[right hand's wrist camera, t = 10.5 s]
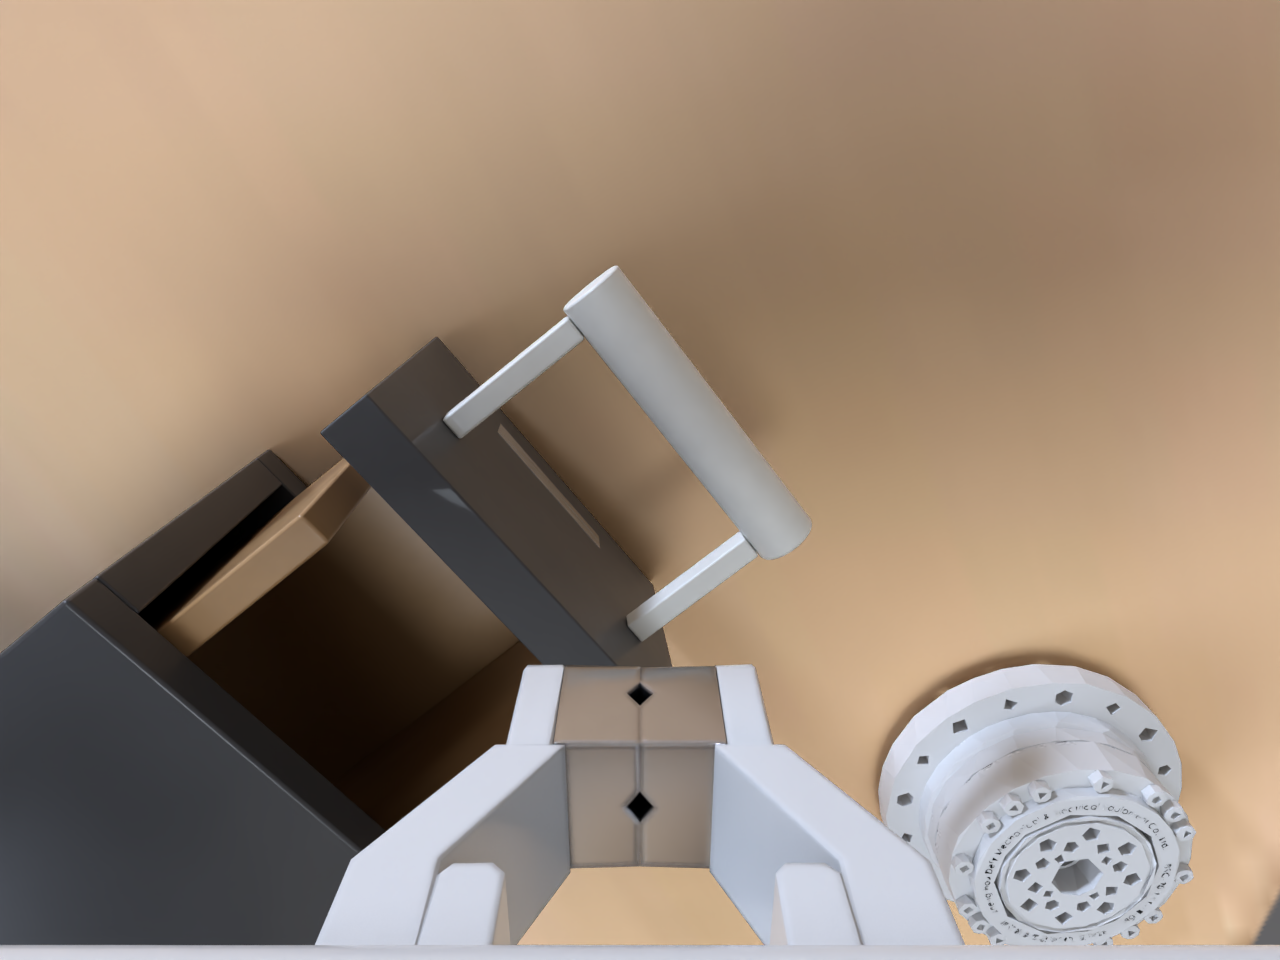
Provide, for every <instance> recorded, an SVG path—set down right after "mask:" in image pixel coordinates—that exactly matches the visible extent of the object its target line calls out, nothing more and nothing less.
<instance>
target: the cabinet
mask: <svg viewBox="0 0 1280 960" xmlns="http://www.w3.org/2000/svg"><path fill="white" fill-rule="evenodd" d="M306 488H307V486H306V485H305V484H304V483H303V482H302V481H301V480H300V479H299V478H298V477H297V476H296V475H295V474H294V473H293V472H292V471H291V470H290V469H289V468H288V467H287V466H286V465H285V464H284V463H283V462H282V461H281V460H280V459H279V458H278V457H277V456H276V455H275V454H274V453H273V452H272V451H271V450H267V451H265V452H264V453H263V454H261V455H260V456H259V457H257V458H256V459H255V460H253V461H252V462H250V463H249V464H248V465H246V466H245V467H244V468H242V469H241V470H240V471H238V472H237V473H236V474H234V475H233V476H231V477H230V478H229V479H227V480H226V481H225V482H223V483H222V484H221V485H219V486H218V487H217V488H215V489H214V490H212V491H211V492H210V493H208V494H207V495H206V496H204V497H203V498H202V499H200V500H199V501H198V502H196V503H195V504H193V505H192V506H191V507H189V508H188V509H187V510H185V511H184V512H183V513H181V514H180V515H178V516H177V517H176V518H174V519H173V520H172V521H170V522H169V523H168V524H166V525H165V526H164V527H162V528H161V529H159V530H158V531H157V532H155V533H154V534H153V535H151V536H150V537H149V538H147V539H146V540H145V541H143V542H142V543H140V544H139V545H138V546H136V547H135V548H134V549H132V550H131V551H130V552H128V553H127V554H126V555H124V556H123V557H121V558H120V559H119V560H117V561H116V562H115V563H113V564H112V565H111V566H109V567H108V568H107V569H105V570H104V571H102V572H101V573H100V574H98V575H97V576H96V577H95V578H93V579H92V580H91V581H89V582H88V583H86V584H85V585H84V586H82V587H81V588H79V589H78V590H77V591H75V592H74V593H73V594H71V595H70V596H69V597H67V598H66V599H65V600H63V601H62V602H61V603H60V604H59V605H57V606H56V607H55V608H54V609H53V610H51V611H50V612H49V613H48V614H47V615H45V616H44V617H43V618H42V619H41V620H39V621H38V622H37V623H36V624H35V625H33V626H32V627H31V628H30V629H29V630H28V631H26V632H25V633H24V634H23V635H22V636H20V637H19V638H18V639H17V640H16V641H14V642H13V643H12V644H11V645H10V646H8V647H7V648H6V649H5V650H4V651H3V652H1V653H0V945H315V943H316V941H317V938H318V936H319V934H320V931H321V929H322V927H323V924H324V922H325V920H326V917H327V915H328V913H329V910H330V908H331V905H332V903H333V901H334V898H335V896H336V894H337V891H338V889H339V887H340V884H341V882H342V880H343V877H344V875H345V872H346V870H347V868H348V865H349V863H350V861H351V859H352V858H353V857H355V856H356V855H357V854H358V853H360V852H361V851H362V850H364V849H365V848H366V847H367V846H369V845H370V844H371V843H372V842H374V841H375V840H376V839H377V838H379V837H380V836H381V835H382V834H384V833H385V832H386V830H385V829H383V828H382V827H381V826H380V825H379V824H378V823H377V822H375V821H374V820H373V819H372V818H371V817H370V816H369V815H367V814H366V813H365V812H364V811H363V810H362V809H360V808H359V807H358V806H357V805H356V804H355V803H354V802H352V801H351V800H350V799H349V798H348V797H347V796H346V795H344V794H343V793H342V792H341V791H340V790H339V789H338V788H336V787H335V786H334V785H333V784H332V783H331V782H330V781H328V780H327V779H326V778H325V777H324V776H323V775H321V774H320V773H319V772H318V771H317V770H316V769H315V768H313V767H312V766H311V765H310V764H309V763H308V762H307V761H305V760H304V759H303V758H302V757H301V756H300V755H299V754H297V753H296V752H295V751H294V750H293V749H292V748H290V747H289V746H288V745H287V744H286V743H285V742H284V741H282V740H281V739H280V738H279V737H278V736H277V735H276V734H274V733H273V732H272V731H271V730H270V729H269V728H268V727H266V726H265V725H264V724H263V723H262V722H261V721H260V720H258V719H257V718H256V717H255V716H254V715H253V714H251V713H250V712H249V711H248V710H247V709H246V708H245V707H243V706H242V705H241V704H240V703H239V702H238V701H237V700H235V699H234V698H233V697H232V696H231V695H230V694H229V693H227V692H226V691H225V690H224V689H223V688H222V687H221V686H219V685H218V684H217V683H216V682H215V681H214V680H212V679H211V678H210V677H209V676H208V675H207V674H206V673H204V672H203V671H202V670H201V669H200V668H199V667H198V666H196V665H195V664H194V663H193V662H192V661H191V660H190V659H188V658H187V657H186V656H185V655H184V654H183V653H182V652H180V651H179V650H178V649H177V648H176V647H175V646H173V645H172V644H171V643H170V642H169V641H168V640H167V639H165V638H164V637H163V636H162V635H161V634H160V633H159V632H157V631H156V630H155V629H154V628H153V627H152V626H151V625H149V624H148V623H147V622H146V621H145V620H147V619H148V618H149V617H150V616H152V615H153V614H154V613H155V612H156V611H158V610H159V609H160V608H161V607H163V606H164V605H165V604H166V603H167V602H169V601H170V600H171V599H172V598H174V597H175V596H176V595H177V594H178V593H180V592H181V591H182V590H183V589H184V588H186V587H187V586H188V585H189V584H191V583H192V582H193V581H194V580H195V579H197V578H198V577H199V576H200V575H202V574H203V573H204V572H205V571H206V570H208V569H209V568H210V567H211V566H212V565H214V564H215V563H216V562H217V561H219V560H220V559H221V558H222V557H223V556H225V555H226V554H227V553H228V552H230V551H231V550H232V549H233V548H234V547H236V546H237V545H238V544H239V543H241V542H242V541H243V540H244V539H245V538H247V537H248V536H249V535H250V534H251V533H253V532H254V531H255V530H256V529H258V528H259V527H260V526H261V525H262V524H264V523H265V522H266V521H267V520H269V519H270V518H271V517H272V516H273V515H275V514H276V513H277V512H278V511H279V510H281V509H282V508H283V507H284V506H286V505H287V504H288V503H289V502H290V501H292V500H293V499H294V498H295V497H297V496H298V495H299V494H300V493H301V492H303V491H304V490H305V489H306Z"/></svg>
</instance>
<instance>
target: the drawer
mask: <svg viewBox="0 0 1280 960" xmlns="http://www.w3.org/2000/svg"><path fill="white" fill-rule="evenodd" d="M563 310H564V312H565V313H566V314H567V317H565V318H563V319H562V320H561V321H560V322H559V323H557V324H556V325H555V326H554V327H552V328H551V329H550V330H549V331H548V332H546V333H545V334H544V335H543V336H541V337H540V338H539V339H538V340H536V341H535V342H534V343H533V344H532V345H530V346H529V347H528V348H527V349H525V350H524V351H523V352H522V353H520V354H519V355H518V356H517V357H516V358H514V359H513V360H512V361H511V362H509V363H508V364H507V365H506V366H504V367H503V368H502V369H501V370H500V371H498V372H497V373H496V374H495V375H493V376H492V377H491V378H490V379H488V380H487V381H486V382H485V383H484V384H482V385H481V386H480V385H479V384H478V383H477V382H476V381H475V380H474V378H473V377H472V376H471V375H470V374H469V373H468V371H467V370H466V369H465V368H464V367H463V366H462V365H461V363H460V362H459V361H458V360H457V359H456V358H455V356H454V355H453V354H452V353H451V352H450V351H449V350H448V348H447V347H446V346H445V345H444V344H443V343H442V342H441V340H440V339H439V338H438V337H435V338H434V339H433V340H431V341H430V342H429V343H428V344H427V345H425V346H424V347H423V348H422V349H420V350H419V351H418V352H417V353H416V354H414V355H413V356H412V357H411V358H409V359H408V360H407V361H406V362H405V363H403V364H402V365H401V366H400V367H398V368H397V369H396V370H395V371H394V372H392V373H391V374H390V375H389V376H387V377H386V378H385V379H384V380H383V381H381V382H380V383H379V384H378V385H376V386H375V387H374V388H373V389H372V390H370V391H369V392H368V393H367V394H365V395H364V396H363V397H362V398H361V399H359V400H358V401H357V402H356V403H355V404H353V405H352V406H351V407H350V408H349V409H347V410H346V411H345V412H344V413H343V414H341V415H340V416H339V417H338V418H337V419H335V420H334V421H333V422H332V423H330V424H329V425H328V426H327V427H326V428H324V429H323V430H322V431H321V435H322V436H323V437H324V438H325V439H326V440H327V441H328V442H329V443H330V444H331V445H332V446H333V447H334V448H335V449H336V450H337V451H338V452H339V453H340V455H341V456H342V457H343V459H342V460H340V461H339V462H338V463H337V464H336V465H334V466H333V467H332V468H331V469H329V470H328V471H327V472H326V473H325V474H323V475H322V476H321V477H320V478H318V479H317V480H316V481H315V482H314V483H312V484H311V485H310V486H309V487H307V488H306V489H305V490H304V491H303V492H301V493H300V494H299V495H298V496H297V497H295V498H294V499H293V500H292V501H290V502H289V503H288V504H287V505H286V506H284V507H283V508H282V509H281V510H279V511H278V512H277V513H276V514H275V515H273V516H272V517H271V518H270V519H269V520H267V521H266V522H265V523H264V524H262V525H261V526H260V527H259V528H258V529H256V530H255V531H254V532H253V533H251V534H250V535H249V536H248V537H247V538H245V539H244V540H243V541H242V542H241V543H239V544H238V545H237V546H236V547H234V548H233V549H232V550H231V551H230V552H228V553H227V554H226V555H225V556H223V557H222V558H221V559H220V560H219V561H217V562H216V563H215V564H214V565H212V566H211V567H210V568H209V569H208V570H206V571H205V572H204V573H203V574H202V575H200V576H199V577H198V578H197V579H195V580H194V581H193V582H192V583H191V584H189V585H188V586H187V587H186V588H184V589H183V590H182V591H181V592H180V593H178V594H177V595H176V596H175V597H174V598H172V599H171V600H170V601H169V602H167V603H166V604H165V605H164V606H163V607H161V608H160V609H159V610H158V611H156V612H155V613H154V614H153V615H152V616H150V617H149V618H148V619H147V620H145V621H146V622H147V623H148V624H149V625H151V626H152V627H153V628H154V629H155V630H156V631H157V632H159V633H160V634H161V635H162V636H163V637H164V638H165V639H167V640H168V641H169V642H170V643H171V644H172V645H173V646H175V647H176V648H177V649H178V650H179V651H180V652H182V653H183V654H184V655H185V656H186V657H187V658H188V659H190V660H191V661H192V662H193V663H194V664H195V665H196V666H198V667H199V668H200V669H201V670H202V671H203V672H204V673H206V674H207V675H208V676H209V677H210V678H211V679H212V680H214V681H215V682H216V683H217V684H218V685H219V686H221V687H222V688H223V689H224V690H225V691H226V692H227V693H229V694H230V695H231V696H232V697H233V698H234V699H235V700H237V701H238V702H239V703H240V704H241V705H242V706H243V707H245V708H246V709H247V710H248V711H249V712H250V713H251V714H253V715H254V716H255V717H256V718H257V719H258V720H260V721H261V722H262V723H263V724H264V725H265V726H266V727H268V728H269V729H270V730H271V731H272V732H273V733H274V734H276V735H277V736H278V737H279V738H280V739H281V740H282V741H284V742H285V743H286V744H287V745H288V746H289V747H290V748H292V749H293V750H294V751H295V752H296V753H297V754H299V755H300V756H301V757H302V758H303V759H304V760H305V761H307V762H308V763H309V764H310V765H311V766H312V767H313V768H315V769H316V770H317V771H318V772H319V773H320V774H321V775H323V776H324V777H325V778H326V779H327V780H328V781H330V782H331V783H332V784H333V785H334V786H335V787H336V788H338V789H339V790H340V791H341V792H342V793H343V794H344V795H346V796H347V797H348V798H349V799H350V800H351V801H352V802H354V803H355V804H356V805H357V806H358V807H359V808H360V809H362V810H363V811H364V812H365V813H366V814H367V815H369V816H370V817H371V818H372V819H373V820H374V821H375V822H377V823H378V824H379V825H380V826H381V827H382V828H383V829H385V830H386V831H387V830H389V829H390V828H391V827H392V826H394V825H395V824H396V823H397V822H399V821H400V820H401V819H402V818H404V817H405V816H406V815H407V814H409V813H410V812H411V811H412V810H414V809H415V808H416V807H417V806H419V805H420V804H421V803H422V802H424V801H425V800H426V799H428V798H429V797H430V796H431V795H433V794H434V793H435V792H436V791H438V790H439V789H440V788H441V787H443V786H444V785H445V784H446V783H448V782H449V781H450V780H451V779H453V778H454V777H455V776H456V775H458V774H459V773H460V772H461V771H463V770H464V769H465V768H466V767H468V766H469V765H470V764H471V763H473V762H474V761H475V760H476V759H478V758H479V757H480V756H481V755H483V754H484V753H485V752H486V751H488V750H489V749H490V748H492V747H493V746H494V745H506V743H507V739H508V734H509V730H510V726H511V722H512V717H513V713H514V709H515V705H516V700H517V696H518V692H519V687H520V683H521V679H522V675H523V671H524V669H525V668H526V667H527V665H564V666H566V665H590V666H638V667H640V668H645V667H672V664H671V659H670V655H669V651H668V647H667V643H666V638H665V634H664V630H663V626H664V625H666V624H667V623H668V622H670V621H671V620H672V619H674V618H675V617H676V616H678V615H679V614H680V613H682V612H683V611H684V610H686V609H687V608H689V607H690V606H691V605H693V604H694V603H695V602H697V601H698V600H699V599H701V598H702V597H703V596H705V595H706V594H707V593H709V592H710V591H711V590H713V589H714V588H716V587H717V586H718V585H720V584H721V583H722V582H724V581H725V580H726V579H728V578H729V577H730V576H732V575H733V574H734V573H736V572H737V571H739V570H740V569H741V568H743V567H744V566H745V565H747V564H748V563H749V562H751V561H752V560H753V559H755V558H756V557H757V556H758V554H759V555H760V557H762V558H764V559H766V560H773V559H777V558H780V557H782V556H784V555H786V554H788V553H790V552H791V551H793V550H794V549H795V548H797V547H798V546H799V545H800V544H801V543H802V542H803V541H804V540H805V539H806V537H807V536H808V534H809V533H810V531H811V528H812V522H811V519H810V517H809V516H808V515H807V513H806V512H805V511H804V509H803V508H802V507H801V505H800V504H799V503H798V501H797V500H796V499H795V498H794V496H793V495H792V494H791V492H790V491H789V490H788V488H787V487H786V486H785V484H784V483H783V482H782V480H781V479H780V478H779V477H778V475H777V474H776V473H775V471H774V470H773V469H772V467H771V466H770V465H769V463H768V462H767V461H766V459H765V458H764V457H763V456H762V454H761V453H760V452H759V450H758V449H757V448H756V446H755V445H754V444H753V442H752V441H751V440H750V438H749V437H748V436H747V435H746V433H745V432H744V431H743V429H742V428H741V427H740V425H739V424H738V423H737V421H736V420H735V419H734V417H733V416H732V415H731V413H730V412H729V411H728V410H727V408H726V407H725V406H724V404H723V403H722V402H721V400H720V399H719V398H718V396H717V395H716V394H715V392H714V391H713V390H712V389H711V387H710V386H709V385H708V383H707V382H706V381H705V379H704V378H703V377H702V375H701V374H700V373H699V371H698V370H697V369H696V368H695V366H694V365H693V364H692V362H691V361H690V360H689V358H688V357H687V356H686V354H685V353H684V352H683V350H682V349H681V348H680V346H679V345H678V344H677V343H676V341H675V340H674V339H673V337H672V336H671V335H670V333H669V332H668V331H667V329H666V328H665V327H664V325H663V324H662V323H661V322H660V320H659V319H658V318H657V316H656V315H655V314H654V312H653V311H652V310H651V308H650V307H649V306H648V304H647V303H646V302H645V301H644V299H643V298H642V297H641V295H640V294H639V293H638V291H637V290H636V289H635V287H634V286H633V285H632V283H631V282H630V281H629V280H628V278H627V277H626V276H625V274H624V273H623V272H622V270H621V269H620V268H619V267H618V266H613V267H611V268H610V269H608V270H607V271H605V272H604V273H603V274H601V275H600V276H599V277H597V278H596V279H595V280H593V281H592V282H591V283H590V284H588V285H587V286H586V287H585V288H584V289H582V290H581V291H580V292H579V293H578V294H577V295H576V296H574V297H573V298H572V299H571V300H570V301H569V302H568V303H567V304H566V305H565V307H564V309H563ZM584 337H585V338H586V339H587V341H588V342H589V343H590V344H591V346H592V347H593V348H594V349H595V351H596V352H597V353H598V354H599V356H600V357H601V358H602V359H603V361H604V362H605V363H606V364H607V366H608V367H609V368H610V369H611V371H612V372H613V373H614V374H615V376H616V377H617V378H618V379H619V381H620V382H621V383H622V384H623V386H624V387H625V388H626V389H627V391H628V392H629V393H630V394H631V396H632V397H633V398H634V399H635V401H636V402H637V403H638V404H639V406H640V407H641V408H642V409H643V411H644V412H645V413H646V414H647V416H648V417H649V418H650V419H651V421H652V422H653V423H654V424H655V426H656V427H657V428H658V429H659V431H660V432H661V433H662V434H663V436H664V437H665V438H666V439H667V441H668V442H669V443H670V444H671V446H672V447H673V448H674V449H675V451H676V452H677V453H678V454H679V456H680V457H681V458H682V459H683V461H684V462H685V463H686V464H687V466H688V467H689V468H690V469H691V471H692V472H693V473H694V474H695V476H696V477H697V478H698V479H699V481H700V482H701V483H702V484H703V486H704V487H705V488H706V489H707V490H708V492H709V493H710V494H711V495H712V497H713V498H714V499H715V500H716V502H717V503H718V504H719V505H720V507H721V508H722V509H723V510H724V512H725V513H726V514H727V515H728V517H729V518H730V519H731V520H732V522H733V523H734V524H735V525H736V527H737V528H738V529H739V530H740V531H739V532H738V533H736V534H735V535H734V536H732V537H731V538H730V539H728V540H727V541H726V542H724V543H723V544H722V545H720V546H719V547H718V548H716V549H715V550H714V551H712V552H711V553H710V554H708V555H707V556H706V557H704V558H703V559H702V560H700V561H699V562H698V563H696V564H695V565H694V566H692V567H691V568H690V569H688V570H687V571H685V572H684V573H683V574H681V575H680V576H679V577H677V578H676V579H675V580H673V581H672V582H671V583H669V584H668V585H667V586H665V587H664V588H663V589H661V590H660V591H659V592H657V593H656V594H655V592H654V588H653V585H652V584H651V582H650V581H649V580H648V579H647V578H646V577H645V576H644V574H643V573H642V572H641V571H640V570H639V569H638V567H637V566H636V565H635V564H634V563H633V562H632V561H631V559H630V558H629V557H628V556H627V555H626V554H625V552H624V551H623V550H622V549H621V548H620V547H619V546H618V544H617V543H616V542H615V541H614V540H613V539H612V537H611V536H610V535H609V534H608V533H607V532H606V531H605V529H604V528H603V527H602V526H601V525H600V524H599V522H598V521H597V520H596V519H595V518H594V517H593V516H592V514H591V513H590V512H589V511H588V510H587V509H586V508H585V506H584V505H583V504H582V503H581V502H580V501H579V499H578V498H577V497H576V496H575V495H574V494H573V493H572V491H571V490H570V489H569V488H568V487H567V486H566V484H565V483H564V482H563V481H562V480H561V479H560V478H559V476H558V475H557V474H556V473H555V472H554V471H553V469H552V468H551V467H550V466H549V465H548V464H547V463H546V461H545V460H544V459H543V458H542V457H541V456H540V454H539V453H538V452H537V451H536V450H535V449H534V448H533V446H532V445H531V444H530V443H529V442H528V441H527V439H526V438H525V437H524V436H523V435H522V434H521V433H520V431H519V430H518V429H517V428H516V427H515V426H514V425H513V423H512V422H511V421H510V420H509V419H508V418H507V416H506V415H505V414H504V413H503V412H502V411H501V410H500V407H501V406H502V405H504V404H505V403H506V402H507V401H509V400H510V399H511V398H512V397H514V396H515V395H516V394H517V393H519V392H520V391H521V390H522V389H524V388H525V387H526V386H527V385H529V384H530V383H531V382H532V381H534V380H535V379H536V378H537V377H538V376H540V375H541V374H542V373H543V372H545V371H546V370H547V369H548V368H550V367H551V366H552V365H553V364H555V363H556V362H557V361H558V360H560V359H561V358H562V357H563V356H565V355H566V354H567V353H568V352H569V351H571V350H572V349H573V348H574V347H576V346H577V345H578V344H579V343H581V342H582V341H583V339H584ZM755 550H756V551H755ZM757 553H758V554H757Z"/></svg>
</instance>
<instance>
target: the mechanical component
mask: <svg viewBox="0 0 1280 960" xmlns="http://www.w3.org/2000/svg"><path fill="white" fill-rule="evenodd" d="M1181 789H1182V770H1181V761H1180V758H1179V755H1178V752H1177V748H1176V745H1175V742H1174V740H1173V739H1172V738H1171V736H1170V735H1169V733H1168V732H1167V731H1166V729H1165V728H1164V726H1163V725H1162V723H1161V722H1160V721H1159V719H1158V718H1157V716H1156V715H1155V714H1154V713H1153V712H1152V711H1151V710H1150V709H1149V708H1148V707H1147V706H1146V705H1145V704H1144V703H1143V702H1142V701H1141V700H1140V699H1139V697H1138V696H1137V695H1136V694H1134V693H1133V692H1131V691H1129V690H1128V689H1126V688H1125V687H1123V686H1122V685H1120V684H1119V683H1117V682H1115V681H1114V680H1112V679H1111V678H1109V677H1107V676H1104V675H1101V674H1098V673H1095V672H1092V671H1089V670H1086V669H1082V668H1079V667H1076V666H1062V665H1043V664H1032V665H1025V666H1018V667H1012V668H1005V669H1000V670H997V671H994V672H991V673H988V674H985V675H982V676H979V677H976V678H973V679H971V680H969V681H966V682H964V683H962V684H960V685H958V686H956V687H954V688H952V689H950V690H948V691H946V692H945V693H944V694H942V695H941V696H940V697H938V698H937V699H936V700H934V701H933V702H932V703H930V704H929V705H928V706H927V707H925V708H924V709H923V710H921V711H920V712H919V713H917V714H916V715H915V716H914V717H913V718H912V719H911V721H910V722H909V723H908V725H907V726H906V727H905V729H904V730H903V731H902V732H901V734H900V735H899V736H898V738H897V739H896V740H895V742H894V743H893V745H892V747H891V749H890V751H889V753H888V756H887V758H886V760H885V762H884V764H883V767H882V772H881V777H880V783H879V788H878V794H879V805H880V814H881V817H882V820H883V823H884V824H885V825H886V826H887V827H888V828H890V829H891V830H892V831H893V832H895V833H896V834H897V835H898V836H900V837H901V838H902V839H903V840H905V841H906V842H907V843H908V844H910V845H911V846H912V847H913V848H915V849H916V850H917V851H918V852H920V853H921V854H922V855H923V856H925V857H926V858H927V859H928V860H930V862H931V864H932V867H933V869H934V872H935V874H936V876H937V879H938V881H939V884H940V886H941V888H942V891H943V893H944V895H945V898H946V899H947V900H950V901H953V902H955V904H956V906H957V909H958V912H959V914H960V915H962V916H963V917H964V918H965V919H967V920H968V924H969V925H970V927H971V929H972V930H973V932H974V933H978V934H980V933H983V934H985V935H987V937H988V939H989V942H990V944H991V945H1004V944H1006V945H1088V944H1091V943H1093V944H1094V945H1113V940H1112V938H1111V937H1113V936H1115V935H1118V934H1121V936H1122V937H1123V938H1126V939H1132V938H1135V937H1136V936H1138V935H1139V931H1140V929H1139V927H1138V926H1137V924H1139V923H1140V922H1141V921H1142V920H1145V921H1146V922H1147V923H1157V922H1158V921H1160V920H1161V919H1162V917H1163V915H1162V912H1161V911H1160V909H1159V907H1161V906H1162V905H1163V904H1165V902H1166V901H1167V900H1168V898H1169V897H1170V896H1171V894H1172V893H1173V891H1174V890H1175V889H1176V887H1177V886H1178V885H1179V883H1181V884H1185V883H1187V882H1189V881H1191V880H1192V879H1193V873H1192V870H1191V869H1190V867H1189V866H1188V864H1189V861H1190V859H1191V849H1192V838H1193V837H1194V835H1195V834H1196V831H1195V830H1194V828H1193V827H1192V826H1191V824H1190V823H1189V821H1188V816H1187V814H1186V813H1185V812H1184V810H1183V808H1182V807H1181V805H1180V804H1179V803H1178V800H1179V796H1180V793H1181Z"/></svg>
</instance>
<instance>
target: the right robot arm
mask: <svg viewBox="0 0 1280 960" xmlns="http://www.w3.org/2000/svg"><path fill="white" fill-rule="evenodd" d="M632 866H646V867H682V868H710V873H711V874H712V875H713V877H714V878H715V879H716V881H717V882H718V883H719V885H720V886H721V887H722V889H723V890H724V892H725V893H726V894H727V896H728V897H729V898H730V900H731V901H732V902H733V904H734V905H735V906H736V908H737V909H738V910H739V912H740V913H741V915H742V916H743V917H744V919H745V920H746V921H747V923H748V924H749V925H750V927H751V928H752V929H753V931H754V932H755V933H756V935H757V936H758V937H759V939H760V940H761V942H762V943H763V944H764V945H517V943H518V942H519V941H520V939H521V938H522V937H523V935H524V934H525V933H526V931H527V930H528V929H529V927H530V926H531V925H532V923H533V922H534V921H535V919H536V918H537V917H538V915H539V914H540V912H541V911H542V910H543V908H544V907H545V906H546V904H547V903H548V902H549V900H550V899H551V898H552V896H553V895H554V894H555V892H556V891H557V890H558V888H559V887H560V886H561V884H562V883H563V882H564V880H565V879H566V878H567V876H568V875H569V874H570V868H598V867H632ZM0 960H1280V945H965V943H964V941H963V939H962V936H961V934H960V931H959V929H958V927H957V924H956V922H955V919H954V917H953V915H952V912H951V910H950V907H949V905H948V903H947V900H946V898H945V895H944V893H943V891H942V888H941V886H940V884H939V881H938V879H937V876H936V874H935V872H934V869H933V867H932V864H931V862H930V860H928V859H927V858H926V857H925V856H923V855H922V854H921V853H920V852H918V851H917V850H916V849H915V848H913V847H912V846H911V845H910V844H908V843H907V842H906V841H905V840H903V839H902V838H901V837H900V836H898V835H897V834H896V833H895V832H893V831H892V830H891V829H890V828H888V827H887V826H886V825H885V824H883V823H882V822H881V821H880V820H878V819H877V818H876V817H875V816H873V815H872V814H871V813H870V812H868V811H867V810H866V809H865V808H863V807H862V806H861V805H860V804H858V803H857V802H856V801H855V800H853V799H852V798H851V797H850V796H848V795H847V794H846V793H845V792H843V791H842V790H841V789H840V788H839V787H837V786H836V785H835V784H834V783H832V782H831V781H830V780H829V779H827V778H826V777H825V776H824V775H822V774H821V773H820V772H819V771H817V770H816V769H815V768H814V767H812V766H811V765H810V764H809V763H807V762H806V761H805V760H804V759H802V758H801V757H800V756H799V755H797V754H796V753H795V752H794V751H792V750H791V749H790V748H789V747H787V746H786V745H774V743H773V739H772V735H771V730H770V726H769V722H768V718H767V714H766V709H765V705H764V701H763V697H762V692H761V688H760V684H759V680H758V675H757V671H756V668H755V667H754V666H753V665H752V664H746V665H717V666H701V667H645V668H640V667H638V666H590V665H566V666H564V665H527V667H526V668H525V669H524V671H523V675H522V679H521V683H520V687H519V692H518V696H517V700H516V705H515V709H514V713H513V717H512V722H511V726H510V730H509V734H508V739H507V743H506V745H494V746H493V747H492V748H490V749H489V750H488V751H486V752H485V753H484V754H483V755H481V756H480V757H479V758H478V759H476V760H475V761H474V762H473V763H471V764H470V765H469V766H468V767H466V768H465V769H464V770H463V771H461V772H460V773H459V774H458V775H456V776H455V777H454V778H453V779H451V780H450V781H449V782H448V783H446V784H445V785H444V786H443V787H441V788H440V789H439V790H438V791H436V792H435V793H434V794H433V795H431V796H430V797H429V798H428V799H426V800H425V801H424V802H422V803H421V804H420V805H419V806H417V807H416V808H415V809H414V810H412V811H411V812H410V813H409V814H407V815H406V816H405V817H404V818H402V819H401V820H400V821H399V822H397V823H396V824H395V825H394V826H392V827H391V828H390V829H389V830H387V831H386V832H385V833H384V834H382V835H381V836H380V837H379V838H377V839H376V840H375V841H374V842H372V843H371V844H370V845H369V846H367V847H366V848H365V849H364V850H362V851H361V852H360V853H358V854H357V855H356V856H355V857H353V858H352V859H351V861H350V863H349V865H348V868H347V870H346V872H345V875H344V877H343V880H342V882H341V884H340V887H339V889H338V891H337V894H336V896H335V898H334V901H333V903H332V905H331V908H330V910H329V913H328V915H327V917H326V920H325V922H324V924H323V927H322V929H321V931H320V934H319V936H318V938H317V941H316V943H315V945H0Z"/></svg>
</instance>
